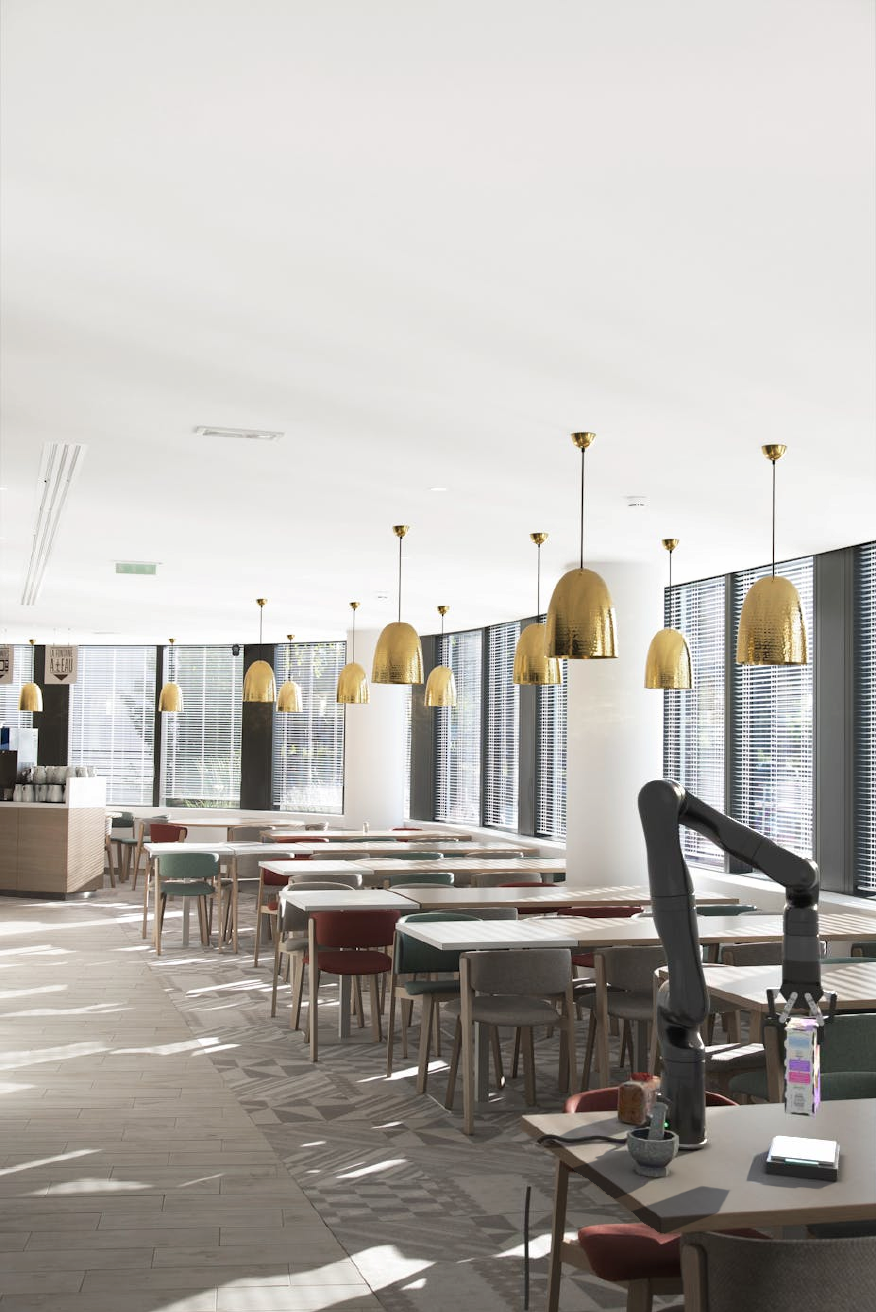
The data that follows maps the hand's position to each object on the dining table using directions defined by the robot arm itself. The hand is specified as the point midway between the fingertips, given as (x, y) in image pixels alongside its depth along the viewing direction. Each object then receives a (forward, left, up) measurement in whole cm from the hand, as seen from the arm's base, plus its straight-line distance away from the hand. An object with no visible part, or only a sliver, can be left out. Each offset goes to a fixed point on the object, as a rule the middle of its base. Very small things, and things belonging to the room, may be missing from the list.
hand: (802, 1042), depth 251 cm
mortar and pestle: (-32, +3, -23) cm, 39 cm away
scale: (-1, -1, -23) cm, 23 cm away
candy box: (0, 0, -13) cm, 13 cm away
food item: (-15, +39, -23) cm, 48 cm away
